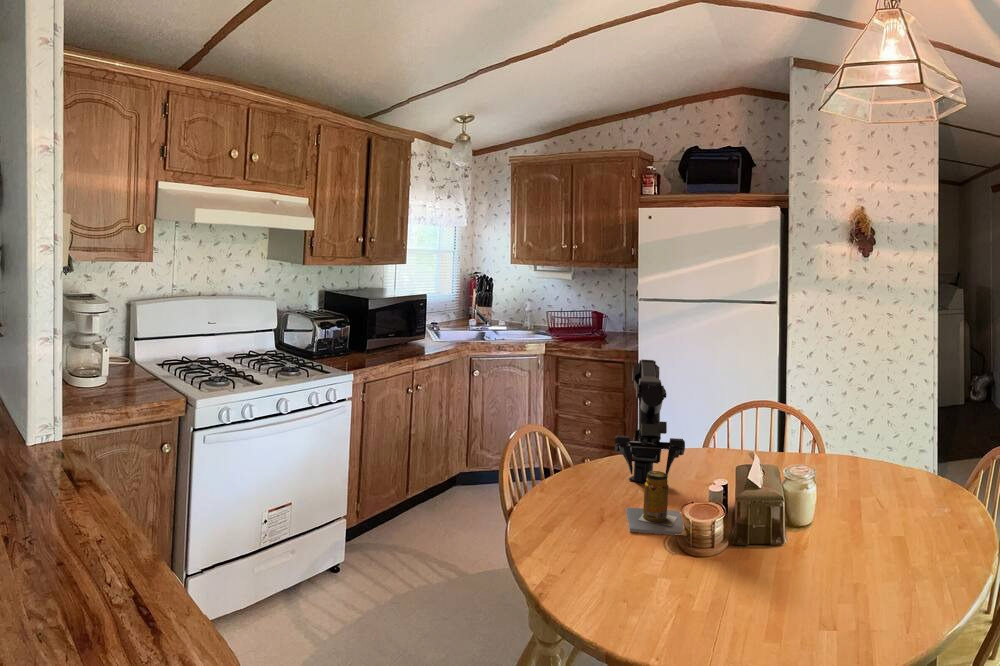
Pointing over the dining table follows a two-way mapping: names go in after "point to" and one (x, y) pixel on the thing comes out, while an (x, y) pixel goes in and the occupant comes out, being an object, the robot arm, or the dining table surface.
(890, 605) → the dining table surface
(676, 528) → the slate tile
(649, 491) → the condiment
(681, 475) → the dining table surface
